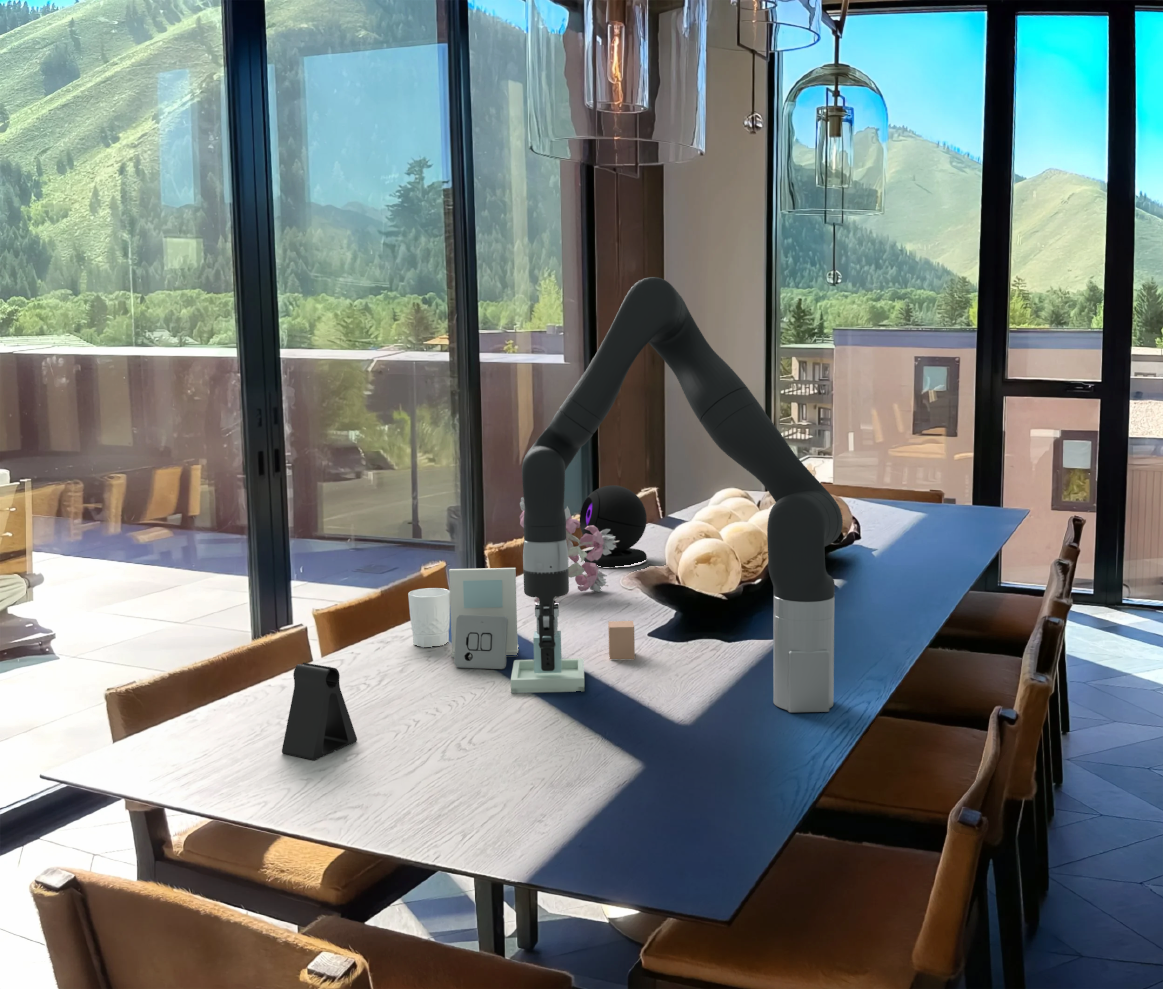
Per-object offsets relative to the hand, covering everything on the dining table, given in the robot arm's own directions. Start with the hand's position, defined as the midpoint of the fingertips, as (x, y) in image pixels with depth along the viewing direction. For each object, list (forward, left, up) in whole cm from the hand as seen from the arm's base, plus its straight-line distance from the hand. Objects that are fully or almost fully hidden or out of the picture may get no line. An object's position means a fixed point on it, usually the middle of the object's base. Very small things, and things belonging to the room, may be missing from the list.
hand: (548, 665), depth 195 cm
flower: (+68, -4, -3) cm, 68 cm away
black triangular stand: (-30, +32, -3) cm, 44 cm away
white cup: (+27, +23, -3) cm, 36 cm away
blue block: (0, 0, -1) cm, 1 cm away
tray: (0, 0, -3) cm, 3 cm away
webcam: (+106, -15, -3) cm, 107 cm away
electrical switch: (+11, +12, -3) cm, 17 cm away
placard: (+18, +12, -3) cm, 22 cm away
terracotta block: (+15, -13, -3) cm, 20 cm away
